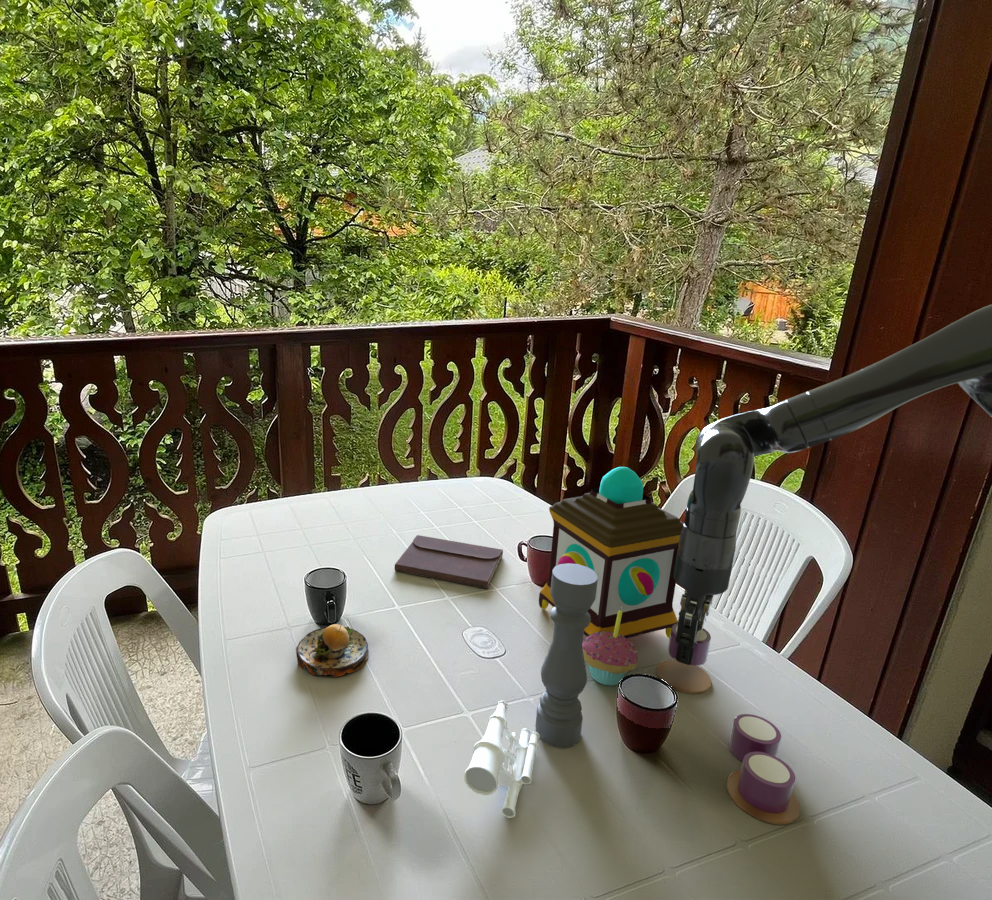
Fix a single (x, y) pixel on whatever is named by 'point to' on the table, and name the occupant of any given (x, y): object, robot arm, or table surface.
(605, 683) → the cupcake
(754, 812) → the near coaster
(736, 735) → the middle dish
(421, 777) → the table surface
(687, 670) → the far coaster
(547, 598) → the decorative lantern
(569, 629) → the candle holder
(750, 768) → the purple short cylinder
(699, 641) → the purple cream-topped cylinder
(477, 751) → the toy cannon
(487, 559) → the brown flap folio case
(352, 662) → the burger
